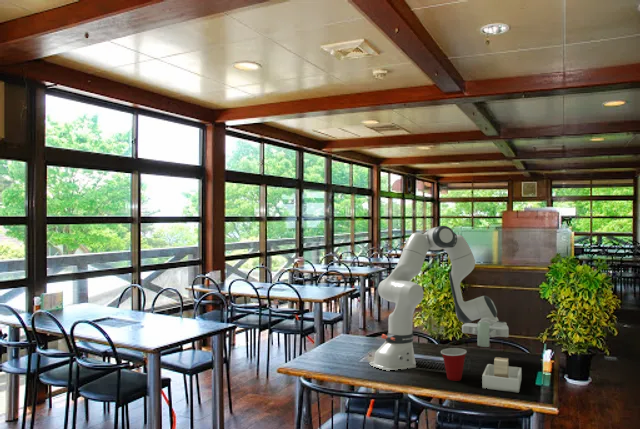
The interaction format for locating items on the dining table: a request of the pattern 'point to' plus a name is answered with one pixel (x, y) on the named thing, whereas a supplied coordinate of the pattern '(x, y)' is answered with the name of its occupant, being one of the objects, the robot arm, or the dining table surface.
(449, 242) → the robot arm
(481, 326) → the ceramic shaker
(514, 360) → the dining table surface
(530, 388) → the dining table surface
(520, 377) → the tub
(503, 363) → the birch block
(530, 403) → the dining table surface
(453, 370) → the plastic cup
